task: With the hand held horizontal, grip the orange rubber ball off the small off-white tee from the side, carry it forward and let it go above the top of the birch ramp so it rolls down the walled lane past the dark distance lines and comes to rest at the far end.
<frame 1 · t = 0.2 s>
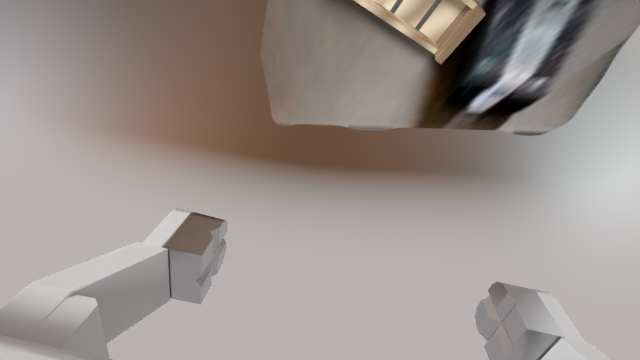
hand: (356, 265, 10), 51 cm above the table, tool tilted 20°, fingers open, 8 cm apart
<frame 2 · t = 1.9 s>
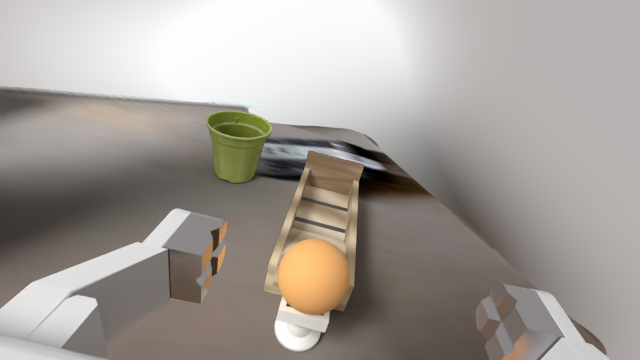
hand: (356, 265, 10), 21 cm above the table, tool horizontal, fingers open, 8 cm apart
ball: (306, 298, 28), point 5 cm above the table, touching tee
plant pot: (235, 174, 50), on the table
tee: (297, 329, 30), on the table
lane: (310, 268, 37), on the table
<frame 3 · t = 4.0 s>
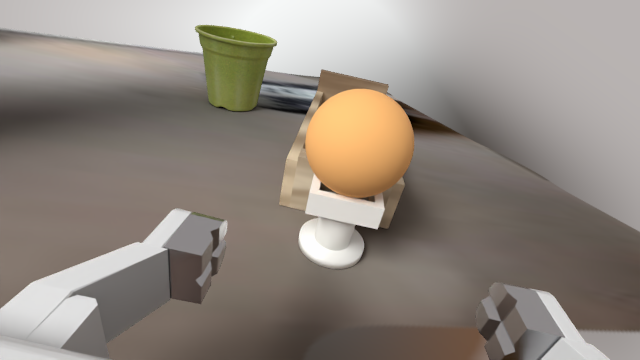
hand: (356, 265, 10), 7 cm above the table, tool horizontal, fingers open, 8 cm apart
ball: (346, 188, 19), point 5 cm above the table, touching tee
plant pot: (233, 105, 42), on the table
tee: (330, 244, 21), on the table
lane: (336, 186, 28), on the table
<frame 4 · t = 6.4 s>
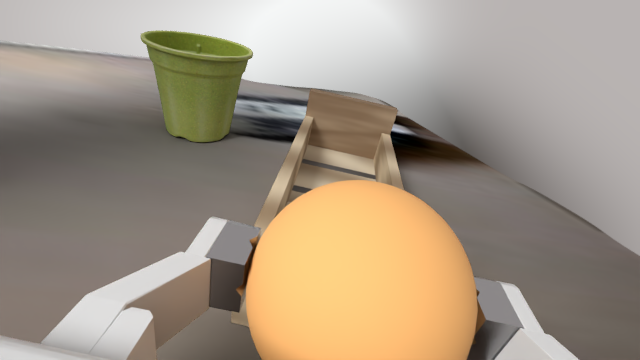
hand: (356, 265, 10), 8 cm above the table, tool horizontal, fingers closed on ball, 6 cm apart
ball: (333, 351, 10), point 5 cm above the table, touching gripper, tee
plant pot: (198, 132, 33), on the table
lane: (325, 270, 19), on the table
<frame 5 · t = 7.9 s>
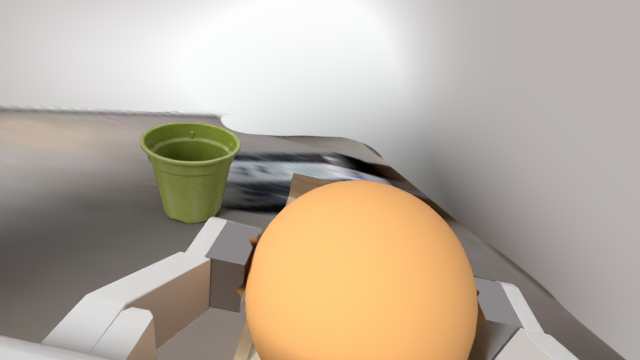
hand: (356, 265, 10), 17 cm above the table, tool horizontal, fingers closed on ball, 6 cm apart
ball: (333, 352, 10), point 14 cm above the table, touching gripper
plant pot: (193, 209, 37), on the table
when the fingers open (10 cm above the table, at t = 9.5 s): ball drops 5 cm and tips over, resting on lane.
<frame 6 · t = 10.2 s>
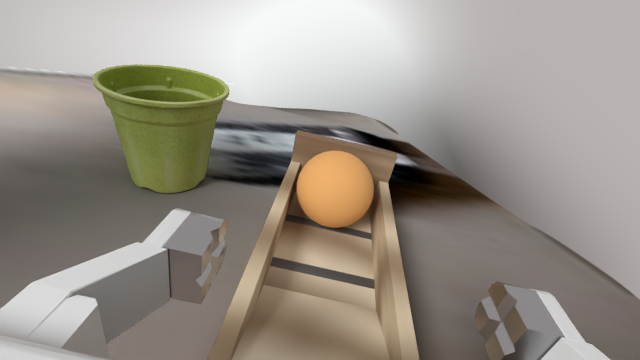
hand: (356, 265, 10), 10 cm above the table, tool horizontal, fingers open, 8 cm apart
ball: (331, 200, 27), point 2 cm above the table, tilted 40°, touching lane
plant pot: (170, 178, 29), on the table
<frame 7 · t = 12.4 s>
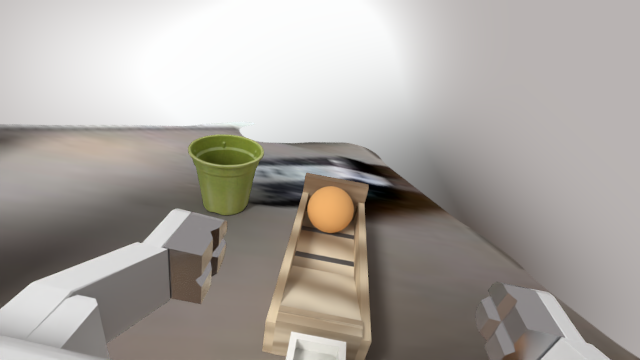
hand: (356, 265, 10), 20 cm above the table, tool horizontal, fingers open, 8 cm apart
ball: (329, 215, 44), point 2 cm above the table, tilted 40°, touching lane
plant pot: (226, 204, 45), on the table
lane: (317, 314, 31), on the table
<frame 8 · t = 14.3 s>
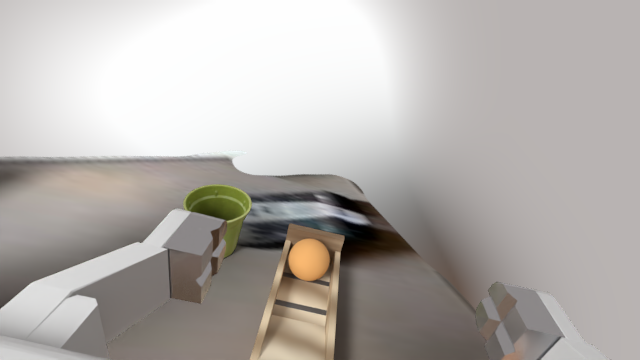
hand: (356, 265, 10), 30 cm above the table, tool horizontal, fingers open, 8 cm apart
ball: (308, 261, 49), point 2 cm above the table, tilted 40°, touching lane
plant pot: (216, 247, 50), on the table
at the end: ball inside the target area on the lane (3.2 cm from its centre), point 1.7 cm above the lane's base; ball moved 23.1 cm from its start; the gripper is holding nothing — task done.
